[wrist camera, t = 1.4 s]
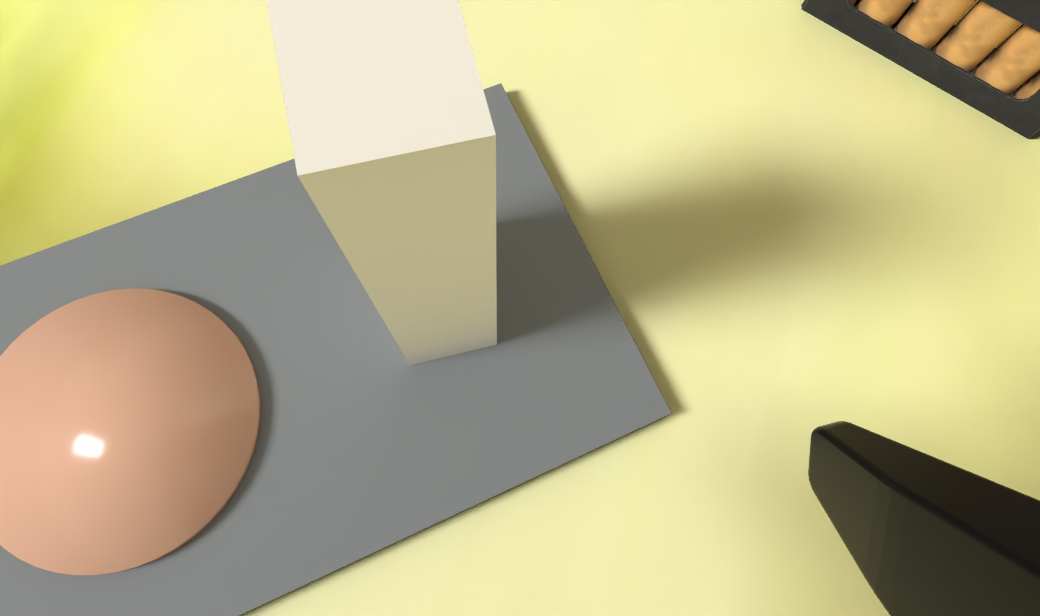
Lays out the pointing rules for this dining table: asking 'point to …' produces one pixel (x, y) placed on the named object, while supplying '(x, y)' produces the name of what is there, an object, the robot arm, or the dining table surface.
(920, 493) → the robot arm
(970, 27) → the ammunition clip
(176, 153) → the dining table surface
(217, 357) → the pink disc
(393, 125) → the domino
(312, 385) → the rubber mat
